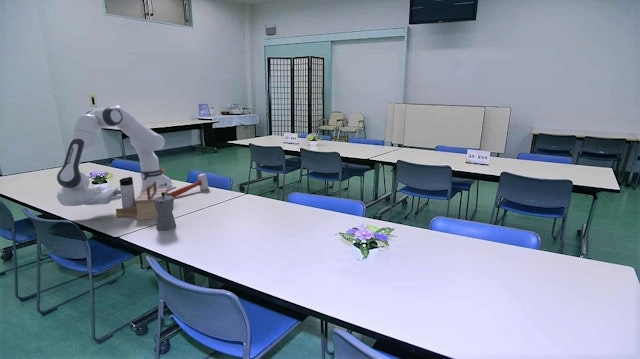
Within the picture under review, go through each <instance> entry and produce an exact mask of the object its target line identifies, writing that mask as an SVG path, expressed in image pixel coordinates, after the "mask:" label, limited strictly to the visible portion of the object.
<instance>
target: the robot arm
mask: <svg viewBox="0 0 640 359" xmlns="http://www.w3.org/2000/svg"><path fill="white" fill-rule="evenodd" d="M110 127H117V128H118V129H119V130H120V131H122V133H124V134H125V135H126V136H128V137H129V142H130V144H131V145H132V147H134V149H135V151H136V153H137V155H138V159H139V162H140V164H139V165H140V178H141V187H140V192H142V191H143V190H144V189H147V188H148V186H149V185H150V184H151V182H152V181H153V180H156V188H157V189H159V188H168V191H169V190H172V189H173V190H174V189H175V188H177V186H176V185H175V184H173V183H172V182H173V181H172V180H171V178H170V177H168V176H167V175H165V174H163V173H165V172H166V170H165V169H164V168H163V169H160V163H159V162H160V161H159V157H158V156H157V154H155V152H154V151H158V150H161V149H163V147H165V144H166V142H165V138H164V137H163V136H162V135H161V134H159V133H157V132H155V131H154V130H152V129H151V128H149V127H147V126H145V125H144V124H143V123H142V122H141V121H139V120H138V119H137V118H136V117H135V116H134V115H133V114H131V113H130V112H129V111H127V110H126V109H125V108H123V107H122V106H120V105H113V106H111V107H101V108H97V109H91V110H89V111H87V112H86V113H83V114H81V115H79V116H78V117H77V120H76V122H75V125H74V127H73V132H72V133H73V134H72V136H71V141H70V143H69V146H68V150H67V152H66V156H65V159H64V163H63V165H62V166H61V168H60V170H59V171H58V173H57V175H56V181H57V182H58V184H59V185H60V186H61V188H60V190H59V191H57V194H56V197H57V201H58V202H59V204H60V205H62V206H64V207H80V206H94V205H95V206H96V205H107V204H109V203H111V202H112V201H116V200H122V197H121V189H119V188H118V187H109V186H107V187H106V186H105V187H102V186H97V187H91V188H90V186H89V185H90V178H89V177H88V176H87V175H86V174H85V173H83V172H82V171H80V168H79V167H80V164H81V160H82V157H83V154H84V152H86V151H90V150H92V149H93V148H94V147H95V146H96V144H97V141H98V135H99V129H107V128H110ZM151 189H154V186H152V188H151Z"/></svg>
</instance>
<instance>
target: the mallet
mask: <svg viewBox="0 0 640 359" xmlns="http://www.w3.org/2000/svg"><path fill="white" fill-rule="evenodd" d="M197 180H198V181H196V182H195V183H191V184H189V185H185V186H184V187H181V188H179V189H178V188H177V189H176V190H173V191H171V192H169V193H168V192H167V193H168V196H173V197H174V198H176V197H178V196H181V195H182V194H185V193H186V192H189V191H190V190H192V189H194V188H196V187H198V186H199V190H201V191H206V190H208V189H209V183H208V178H207V174H206V173H200V174H198V175H197Z"/></svg>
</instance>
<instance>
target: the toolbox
mask: <svg viewBox="0 0 640 359" xmlns="http://www.w3.org/2000/svg"><path fill="white" fill-rule="evenodd" d="M152 186H154V189H151V188H152ZM168 191H169V190H168V188H159V189H157V188H156V180H153V181H152V182H151V184H150V185H149V186H148V188H147V189H144V190H143V191H142V192H141V191H140V192H141V193H140V194H139V195H138V196H137V197H136V198H135V204H136V208H123V205H122V204H121V205H122V208H116V209H115V214H116V219H126V218H137V220H138V221H139V220H152V219H157V215H158V213H157V211H156V208H155V204H154V201H153V199H154V198H156V197H158V196H162V194H161V193H162V192H165V193H167V194H168Z"/></svg>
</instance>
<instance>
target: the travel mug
mask: <svg viewBox="0 0 640 359" xmlns="http://www.w3.org/2000/svg"><path fill="white" fill-rule="evenodd" d="M134 188H135V187H134V180H133V176H128V177H123V178H121V179H119V190H121V194H120V196H121V205H123V207H122V208H136V204H135V200H136V197H135V189H134Z"/></svg>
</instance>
